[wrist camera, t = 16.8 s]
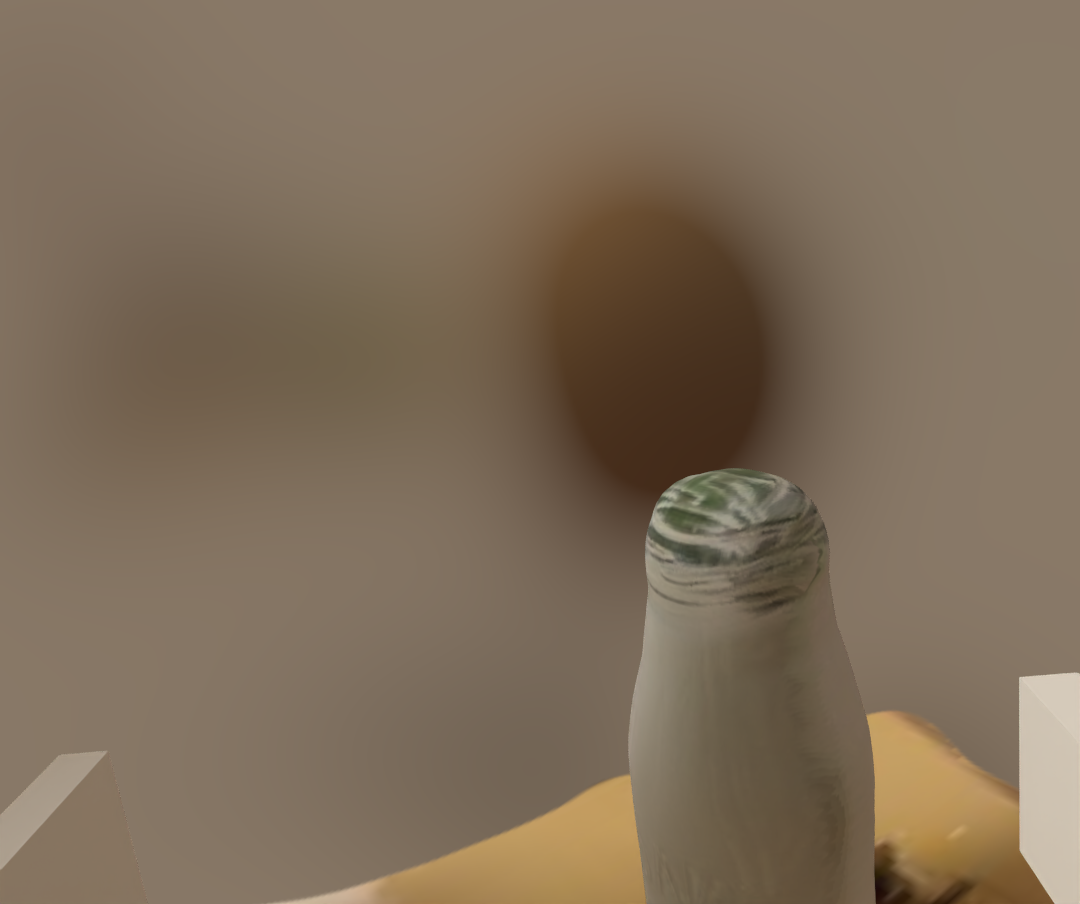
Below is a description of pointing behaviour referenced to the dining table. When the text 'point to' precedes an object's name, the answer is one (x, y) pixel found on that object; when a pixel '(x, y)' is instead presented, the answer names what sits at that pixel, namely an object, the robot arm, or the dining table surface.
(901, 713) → the dining table surface
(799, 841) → the glass bottle
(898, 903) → the dining table surface
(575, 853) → the dining table surface
